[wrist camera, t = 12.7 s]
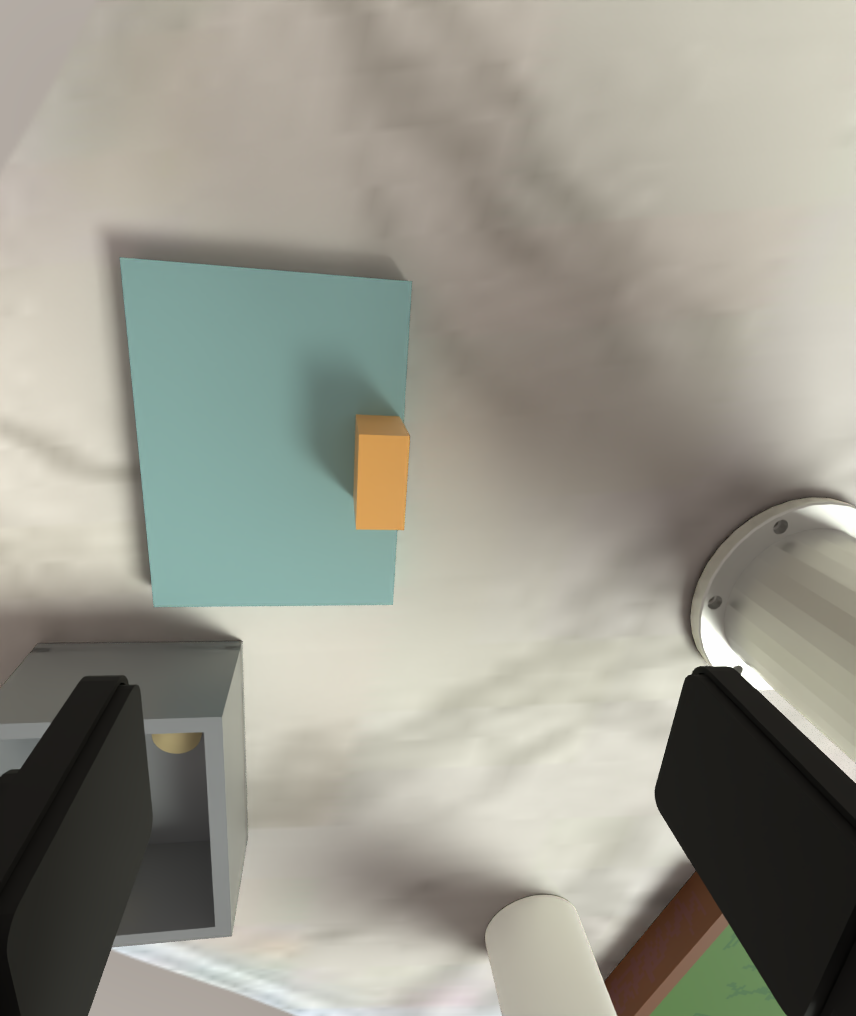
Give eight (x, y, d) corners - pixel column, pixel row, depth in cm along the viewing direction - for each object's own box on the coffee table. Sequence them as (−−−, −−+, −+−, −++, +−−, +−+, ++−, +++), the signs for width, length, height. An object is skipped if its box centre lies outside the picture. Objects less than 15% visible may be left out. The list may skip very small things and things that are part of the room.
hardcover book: (696, 858, 44) (728, 907, 40) (860, 908, 49) (900, 955, 46) (527, 1064, 50) (542, 1121, 46) (690, 1088, 55) (714, 1142, 52)
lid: (407, 282, 26) (425, 279, 21) (390, 590, 31) (400, 648, 26) (132, 259, 24) (77, 250, 19) (162, 591, 30) (126, 654, 24)
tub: (242, 641, 31) (222, 716, 26) (247, 836, 36) (231, 936, 30) (38, 643, 30) (-32, 724, 24) (72, 848, 34) (20, 955, 29)
